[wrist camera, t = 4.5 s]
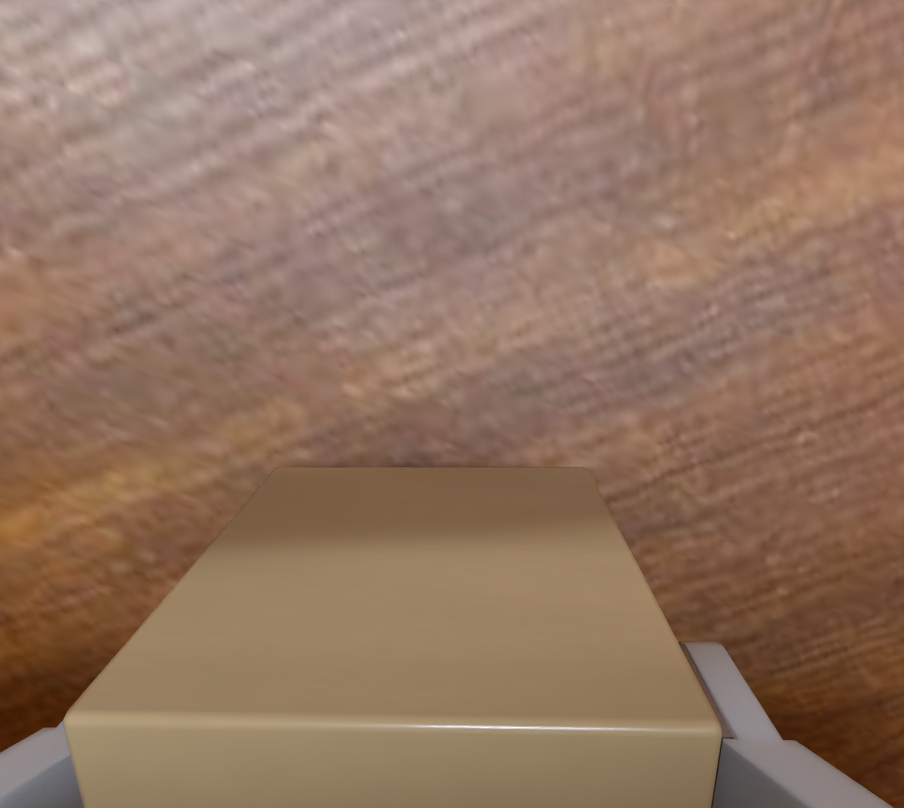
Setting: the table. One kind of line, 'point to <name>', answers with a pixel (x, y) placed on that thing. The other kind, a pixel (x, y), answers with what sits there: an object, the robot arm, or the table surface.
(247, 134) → the table surface
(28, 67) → the table surface
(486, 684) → the block
